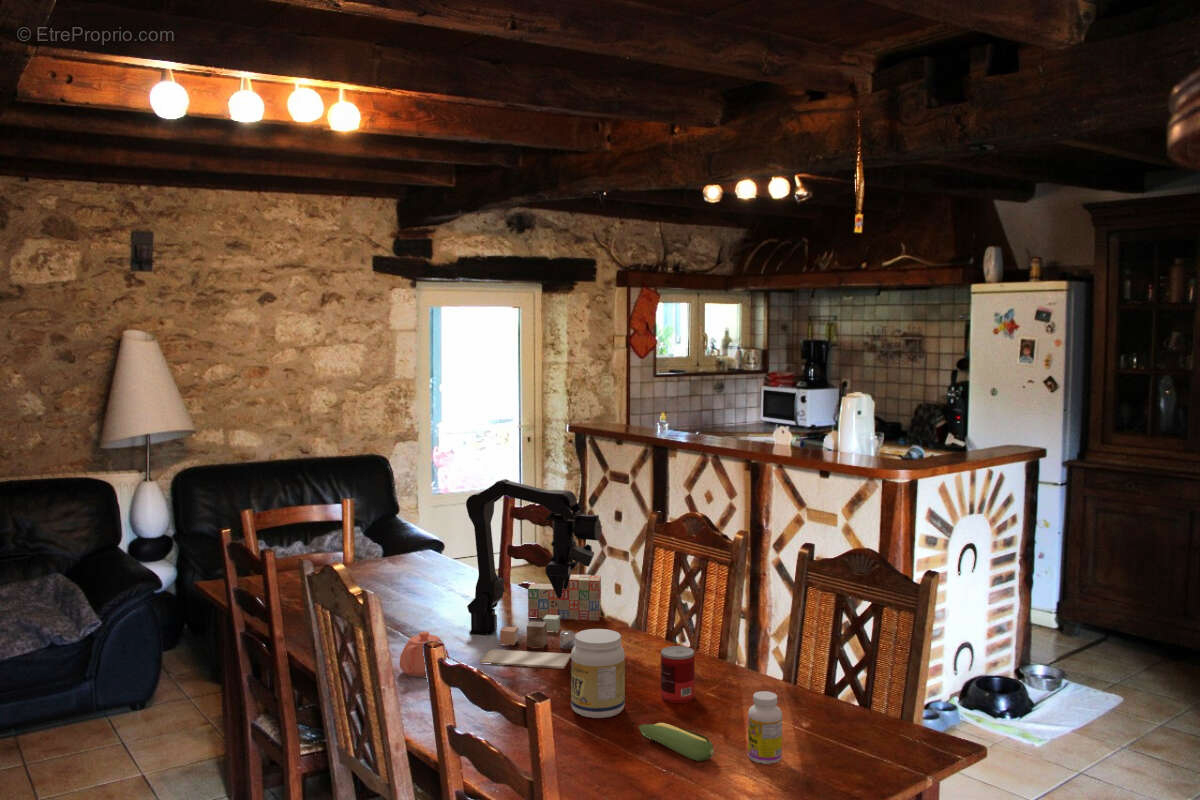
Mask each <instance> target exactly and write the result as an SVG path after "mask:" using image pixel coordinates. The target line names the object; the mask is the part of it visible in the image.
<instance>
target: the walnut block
mask: <svg viewBox="0 0 1200 800" xmlns="http://www.w3.org/2000/svg"><path fill="white" fill-rule="evenodd" d="M547 634H548V633H547V622H543V621H530V622H529V623H528V624H527V625H526V648H527V647H539V648H543V647H544V646H545V644H546V643H548V640H547V639H548V635H547ZM546 645H547V644H546ZM545 647H546V646H545ZM545 647H544V648H545ZM544 648H543V649H544Z"/></svg>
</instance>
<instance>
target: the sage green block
mask: <svg viewBox="0 0 1200 800" xmlns="http://www.w3.org/2000/svg"><path fill="white" fill-rule="evenodd" d="M542 620H543V621H542V622H547V631H553V632H557V631H558V630H559V628H560V629H561V620H560V615H546V616H545V617H544V618H543V619H542ZM559 631H560V630H559ZM559 631H558V632H559ZM558 632H557V633H558Z"/></svg>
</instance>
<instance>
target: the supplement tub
mask: <svg viewBox="0 0 1200 800" xmlns="http://www.w3.org/2000/svg"><path fill="white" fill-rule="evenodd" d="M621 638H622V635H621V634H620V633H619V632H618V631H615V630H611V629H606V628H605V629H604V628H590V629H584V630H581V631H578V632H577V633H575V641H574V644H575V646H574V647H573V649H571V650H570V651H571V652H570V654H571V658H570V705H571V709H572V710H573V712H575V713H576V714H578V715H579V714H580V716H582V717H586V718H590V717H591V718H592V719H604V718H606V717H607V718H610V717H611V718H612V717H613V716H617V715H618V714H620V713H621V712H622V711H623V710H624V707H625V705H626V701H625V700H626V699H625V698H626V695H625V694H626V693H625V692H626V691H625V685H626V684H625V683H626V682H625V677H626V674H625V673H626V672H625V670H626V669H625V667H626V666H625V665H626V663H625V662H626V658H625V657H626V655H625V654H626V652H625V650H624V648H623V647H622V639H621Z"/></svg>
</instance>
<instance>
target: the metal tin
mask: <svg viewBox="0 0 1200 800" xmlns="http://www.w3.org/2000/svg"><path fill="white" fill-rule="evenodd" d="M575 635H576V631H574V630H562V631H560V632H559V636H560V637H559V639H560V640H559V644H560V645H559V648H560V647H561V648H563V649H562V650H564V649H571V648H573V647H574V646H575V644H574V641H575ZM561 648H560V649H561ZM571 650H572V649H571Z"/></svg>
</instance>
